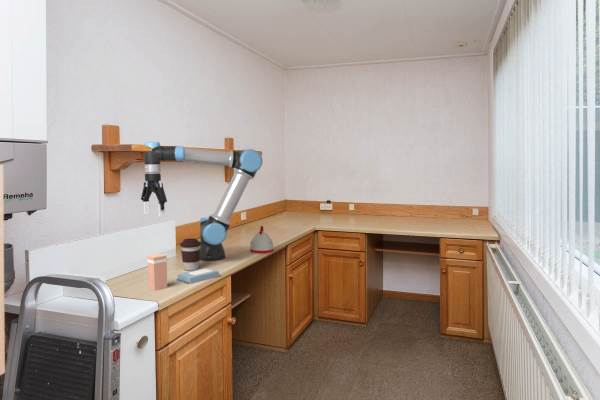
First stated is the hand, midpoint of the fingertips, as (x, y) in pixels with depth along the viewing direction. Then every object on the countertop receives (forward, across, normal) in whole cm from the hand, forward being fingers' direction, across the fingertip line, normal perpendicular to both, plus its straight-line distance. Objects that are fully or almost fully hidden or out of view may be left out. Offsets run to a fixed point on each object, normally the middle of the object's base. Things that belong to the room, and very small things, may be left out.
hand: (154, 215), depth 224 cm
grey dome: (+27, +11, +64) cm, 70 cm away
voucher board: (+27, +33, +2) cm, 42 cm away
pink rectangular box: (+27, +33, -19) cm, 46 cm away
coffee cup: (+27, +16, +10) cm, 33 cm away
